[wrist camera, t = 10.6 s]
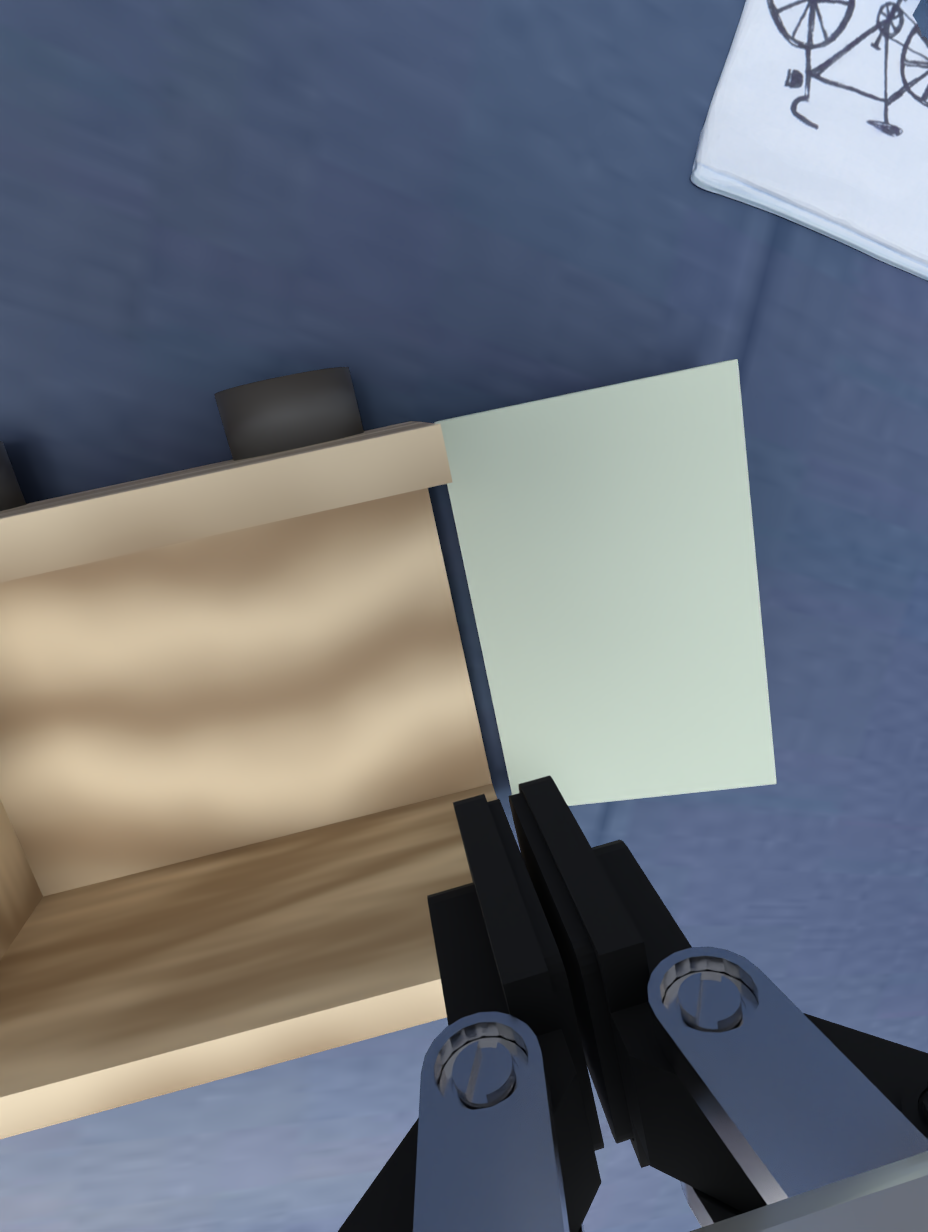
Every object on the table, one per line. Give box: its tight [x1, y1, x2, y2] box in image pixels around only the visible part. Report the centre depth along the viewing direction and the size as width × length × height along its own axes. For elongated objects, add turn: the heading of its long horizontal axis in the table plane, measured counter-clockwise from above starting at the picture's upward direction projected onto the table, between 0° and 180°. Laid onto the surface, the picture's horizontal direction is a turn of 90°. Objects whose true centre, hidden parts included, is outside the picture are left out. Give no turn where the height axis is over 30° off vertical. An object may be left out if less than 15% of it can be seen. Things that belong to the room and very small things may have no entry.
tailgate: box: [434, 359, 776, 806], centre depth 31 cm, size 18×2×11 cm
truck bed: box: [0, 367, 497, 1139], centre depth 26 cm, size 23×22×12 cm
